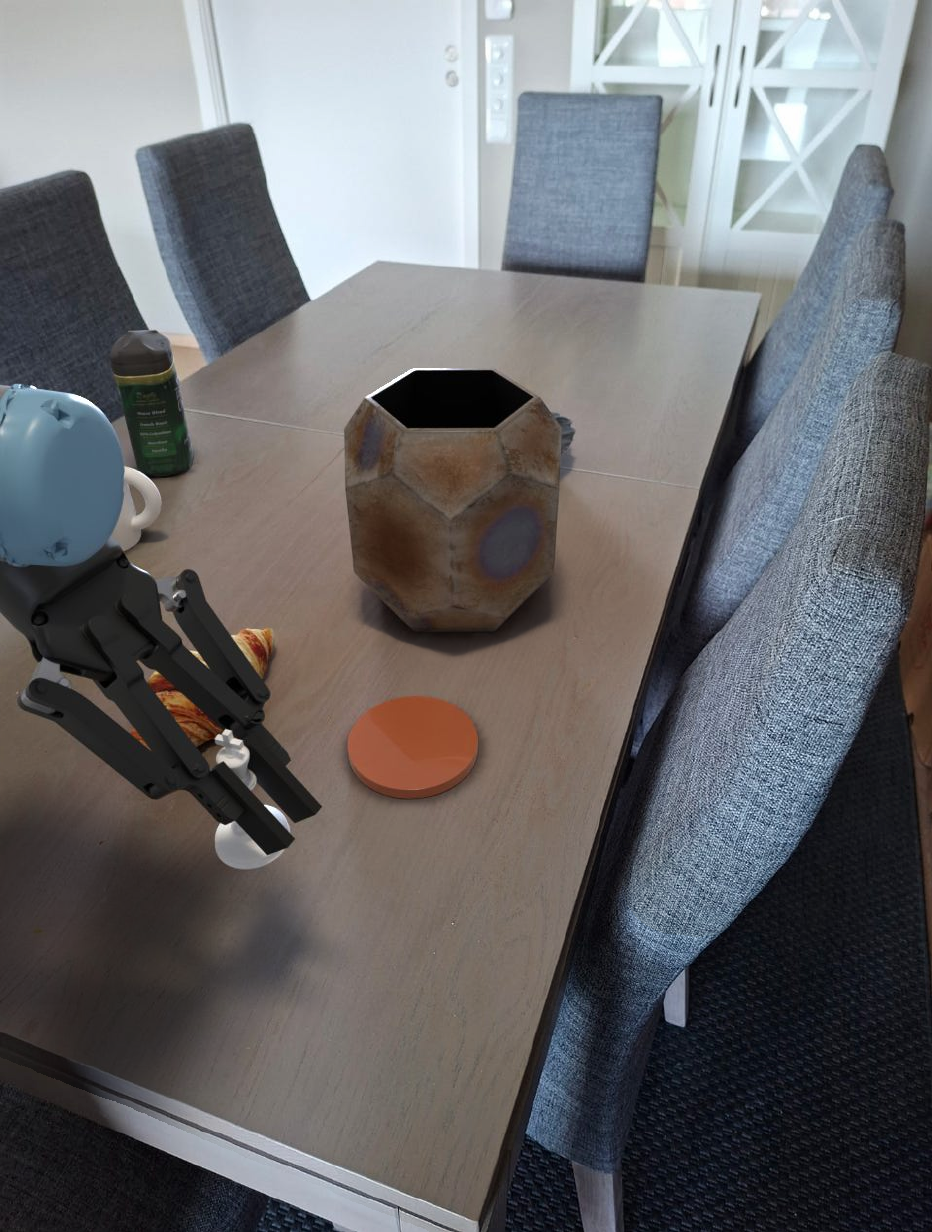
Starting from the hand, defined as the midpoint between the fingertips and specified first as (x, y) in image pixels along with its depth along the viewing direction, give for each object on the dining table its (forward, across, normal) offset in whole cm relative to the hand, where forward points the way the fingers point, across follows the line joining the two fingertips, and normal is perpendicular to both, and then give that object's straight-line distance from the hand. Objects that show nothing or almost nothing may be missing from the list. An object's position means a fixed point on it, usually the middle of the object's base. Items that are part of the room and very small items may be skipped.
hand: (294, 830), depth 55 cm
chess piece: (0, 0, -5) cm, 5 cm away
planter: (+1, -46, -20) cm, 50 cm away
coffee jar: (-36, -54, -58) cm, 87 cm away
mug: (-29, -36, -51) cm, 68 cm away
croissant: (-7, -18, -29) cm, 35 cm away
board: (-6, -77, -28) cm, 82 cm away
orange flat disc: (+7, -22, -14) cm, 27 cm away
